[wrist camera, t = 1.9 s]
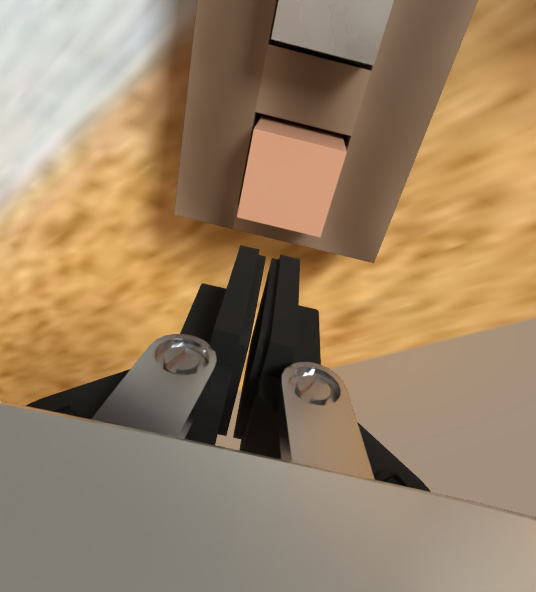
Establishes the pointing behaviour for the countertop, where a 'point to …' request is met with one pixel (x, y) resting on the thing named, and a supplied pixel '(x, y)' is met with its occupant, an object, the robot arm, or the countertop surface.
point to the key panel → (313, 112)
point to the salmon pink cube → (291, 175)
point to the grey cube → (334, 26)
